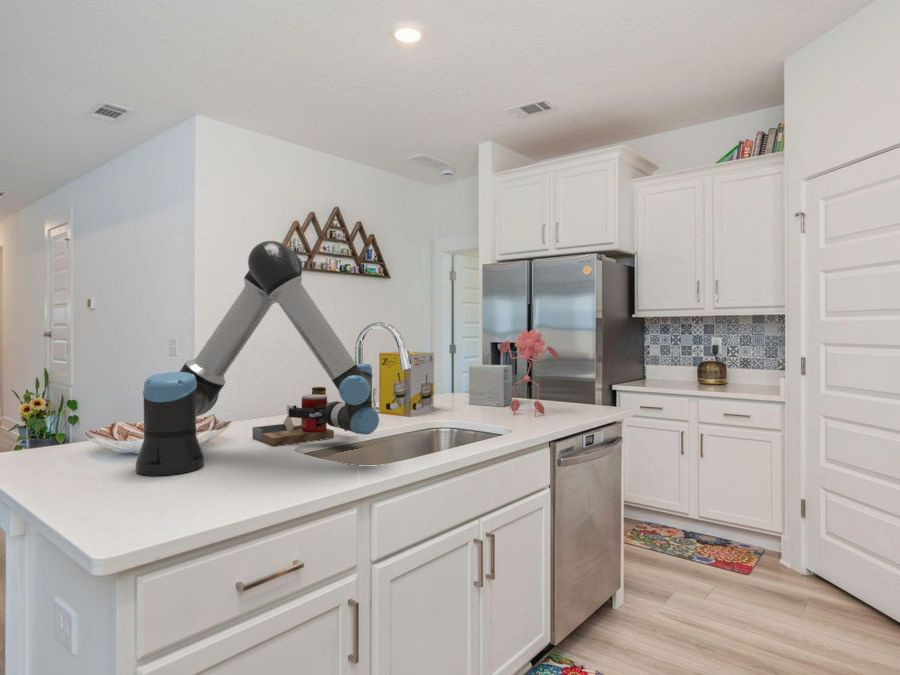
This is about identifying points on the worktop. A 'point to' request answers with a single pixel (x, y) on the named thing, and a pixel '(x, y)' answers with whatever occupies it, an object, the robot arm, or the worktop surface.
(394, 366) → the packaging box
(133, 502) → the worktop surface
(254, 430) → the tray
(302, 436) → the board
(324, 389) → the condiment
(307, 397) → the canned food
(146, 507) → the worktop surface
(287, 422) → the off-white block
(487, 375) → the supplement box
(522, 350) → the pink wire stick figure
